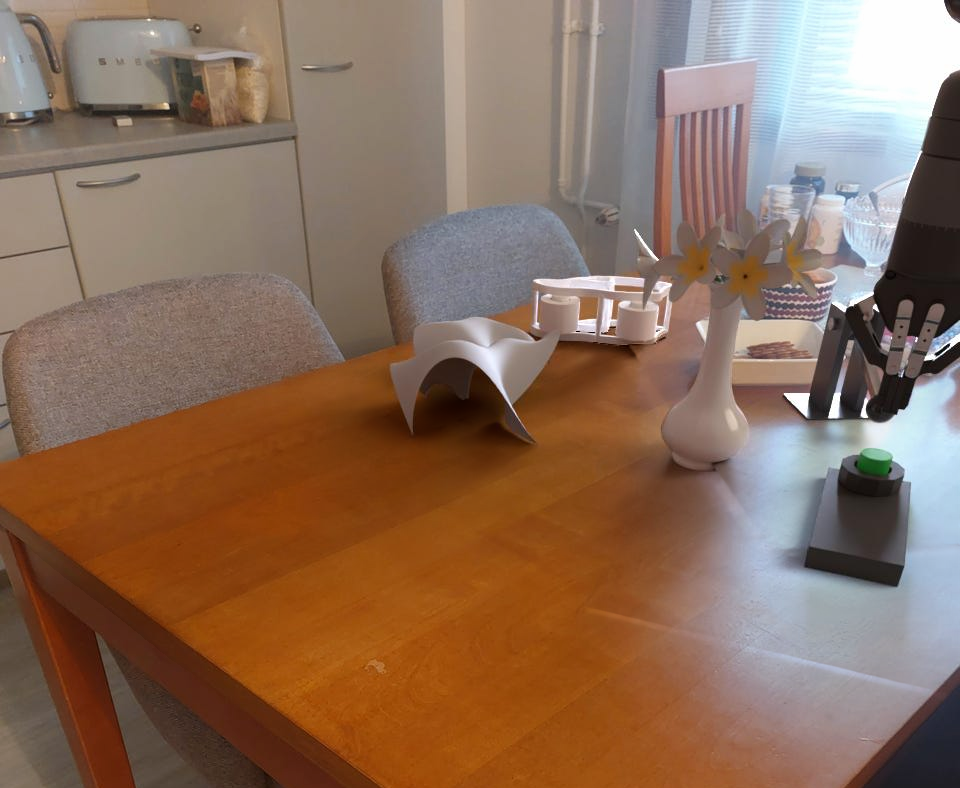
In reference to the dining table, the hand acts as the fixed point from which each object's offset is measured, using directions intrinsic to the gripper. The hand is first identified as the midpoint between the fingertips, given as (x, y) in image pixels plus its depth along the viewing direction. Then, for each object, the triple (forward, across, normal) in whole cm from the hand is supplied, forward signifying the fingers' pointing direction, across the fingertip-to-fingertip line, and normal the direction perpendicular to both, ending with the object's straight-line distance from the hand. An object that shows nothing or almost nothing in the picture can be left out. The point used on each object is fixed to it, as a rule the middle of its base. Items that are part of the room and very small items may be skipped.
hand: (889, 411), depth 88 cm
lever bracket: (+10, -5, +24) cm, 26 cm away
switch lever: (+3, -3, +20) cm, 20 cm away
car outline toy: (+10, -40, +40) cm, 57 cm away
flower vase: (+10, -18, +3) cm, 20 cm away
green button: (+6, 0, 0) cm, 6 cm away
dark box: (+10, 0, -7) cm, 12 cm away
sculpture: (+10, -46, +9) cm, 48 cm away
